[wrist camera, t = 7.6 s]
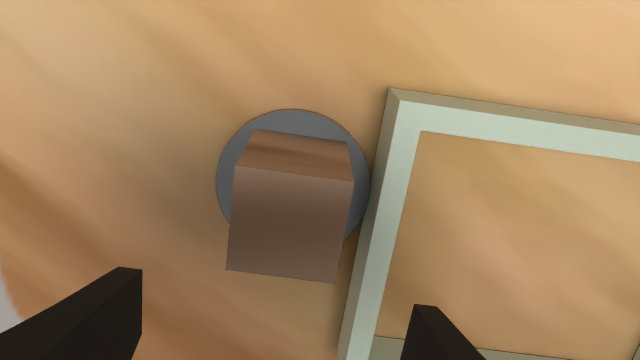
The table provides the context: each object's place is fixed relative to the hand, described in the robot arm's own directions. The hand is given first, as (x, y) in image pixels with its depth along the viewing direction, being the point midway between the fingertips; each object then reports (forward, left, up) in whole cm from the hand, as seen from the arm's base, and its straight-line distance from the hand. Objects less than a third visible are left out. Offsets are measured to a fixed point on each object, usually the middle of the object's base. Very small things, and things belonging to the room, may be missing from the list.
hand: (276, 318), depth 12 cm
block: (+1, 0, -9) cm, 9 cm away
